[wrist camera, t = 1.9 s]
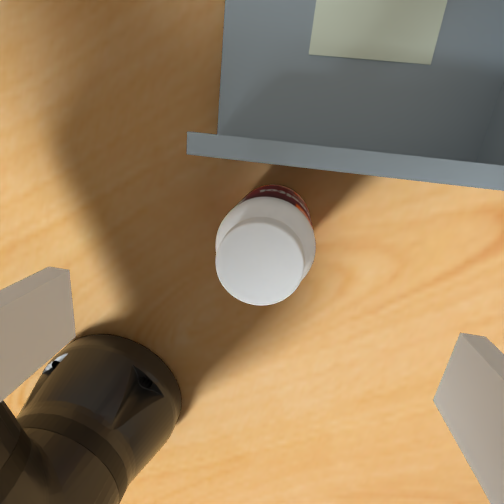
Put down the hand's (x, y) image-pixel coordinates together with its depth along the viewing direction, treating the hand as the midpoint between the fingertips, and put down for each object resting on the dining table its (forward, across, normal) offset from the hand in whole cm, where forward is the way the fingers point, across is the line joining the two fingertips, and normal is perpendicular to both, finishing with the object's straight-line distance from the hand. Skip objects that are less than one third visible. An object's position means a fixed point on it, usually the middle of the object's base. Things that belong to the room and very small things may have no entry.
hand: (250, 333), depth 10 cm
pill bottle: (+17, 0, 0) cm, 17 cm away
